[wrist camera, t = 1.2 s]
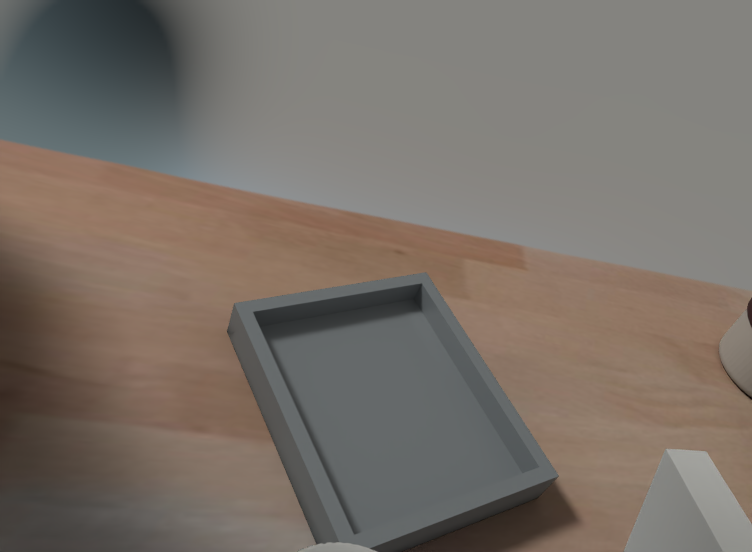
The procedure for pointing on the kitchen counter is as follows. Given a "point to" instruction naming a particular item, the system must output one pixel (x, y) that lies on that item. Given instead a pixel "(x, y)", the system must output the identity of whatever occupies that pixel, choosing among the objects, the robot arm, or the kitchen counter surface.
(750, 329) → the coffee cup
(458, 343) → the tray
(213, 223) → the kitchen counter surface
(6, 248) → the kitchen counter surface
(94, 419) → the kitchen counter surface
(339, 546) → the pill bottle
